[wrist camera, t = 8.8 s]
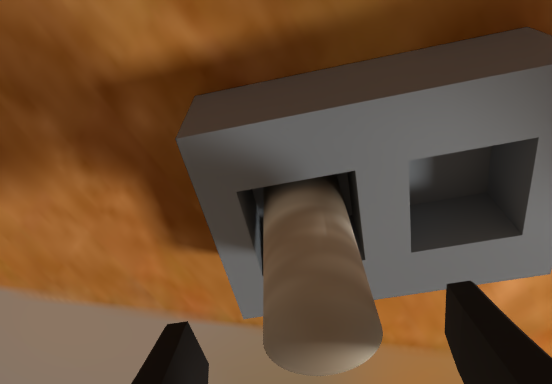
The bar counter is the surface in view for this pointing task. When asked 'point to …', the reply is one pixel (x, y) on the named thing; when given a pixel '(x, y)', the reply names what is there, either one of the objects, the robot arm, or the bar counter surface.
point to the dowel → (314, 281)
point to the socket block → (391, 162)
